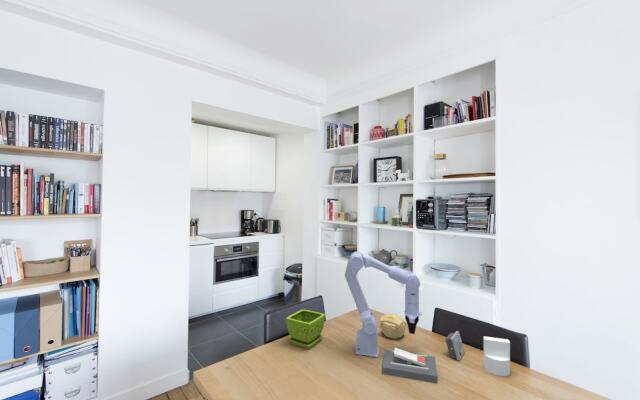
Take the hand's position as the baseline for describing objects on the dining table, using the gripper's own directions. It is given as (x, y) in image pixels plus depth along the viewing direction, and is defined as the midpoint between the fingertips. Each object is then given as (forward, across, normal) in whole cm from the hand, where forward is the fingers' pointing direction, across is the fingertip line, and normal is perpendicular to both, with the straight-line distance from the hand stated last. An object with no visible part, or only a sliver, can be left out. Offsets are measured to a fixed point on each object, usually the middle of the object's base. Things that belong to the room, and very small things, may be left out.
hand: (411, 333), depth 129 cm
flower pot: (+10, -3, +48) cm, 49 cm away
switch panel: (+9, -11, +1) cm, 15 cm away
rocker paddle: (+5, -11, +1) cm, 12 cm away
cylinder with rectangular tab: (+10, -2, -32) cm, 33 cm away
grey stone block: (+10, +5, -18) cm, 21 cm away
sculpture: (+10, +16, +9) cm, 21 cm away
